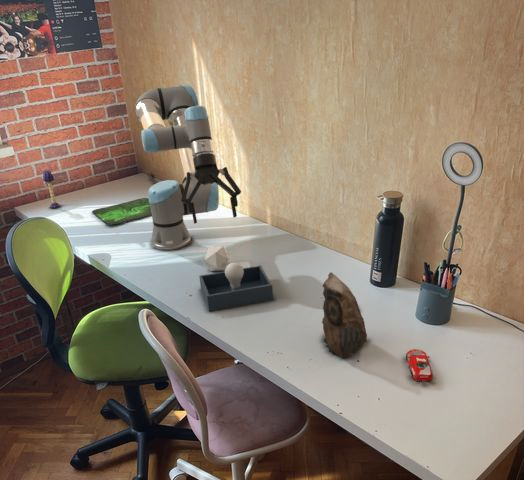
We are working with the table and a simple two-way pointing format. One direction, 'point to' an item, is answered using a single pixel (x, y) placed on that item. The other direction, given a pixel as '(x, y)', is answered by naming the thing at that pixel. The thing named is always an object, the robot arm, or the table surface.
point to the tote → (251, 290)
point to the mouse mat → (124, 212)
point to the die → (217, 258)
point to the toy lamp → (50, 188)
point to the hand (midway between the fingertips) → (215, 219)
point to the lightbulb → (234, 275)
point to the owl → (342, 319)
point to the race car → (419, 366)
